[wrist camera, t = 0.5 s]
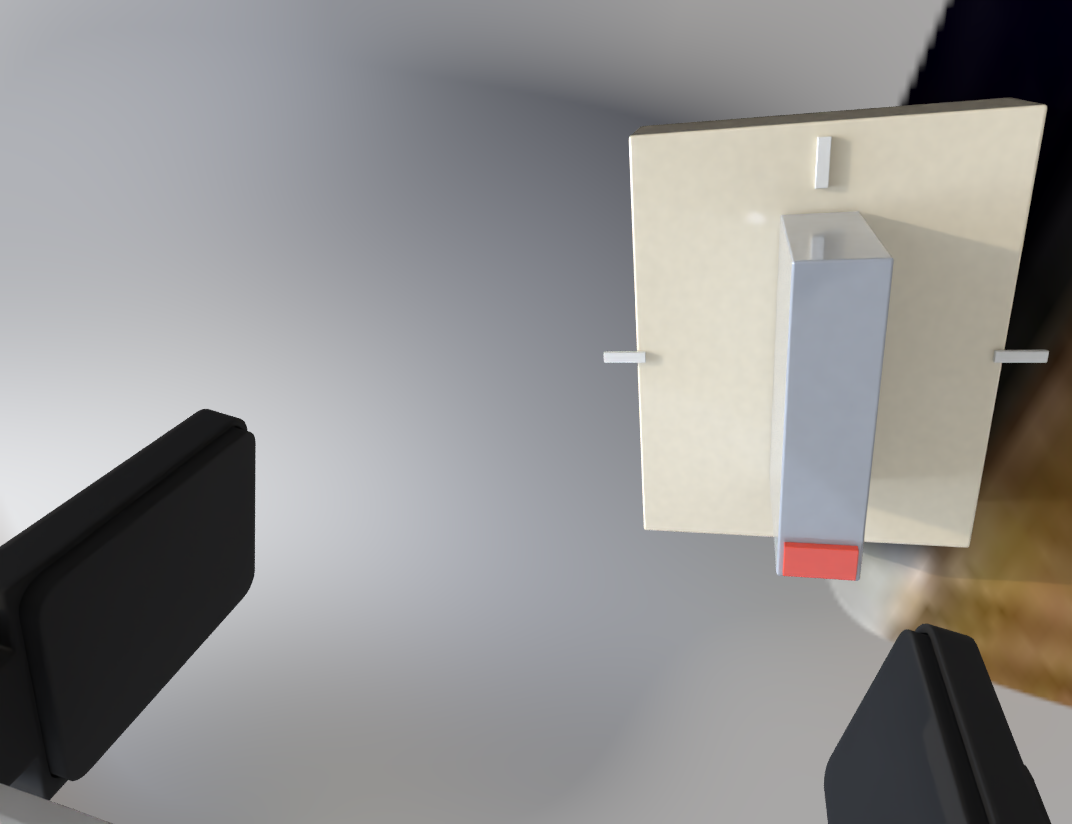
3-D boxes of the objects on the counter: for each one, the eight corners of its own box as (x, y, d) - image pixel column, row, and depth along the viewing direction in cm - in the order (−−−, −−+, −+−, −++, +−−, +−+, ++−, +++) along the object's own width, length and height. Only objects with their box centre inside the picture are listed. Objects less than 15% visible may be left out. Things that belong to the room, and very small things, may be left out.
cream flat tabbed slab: (606, 128, 25) (590, 139, 23) (1054, 93, 22) (1100, 101, 19) (624, 488, 31) (614, 531, 28) (981, 502, 28) (1008, 553, 25)
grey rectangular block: (779, 214, 22) (792, 263, 17) (859, 210, 22) (896, 260, 17) (768, 478, 26) (776, 581, 21) (836, 480, 26) (861, 587, 21)
